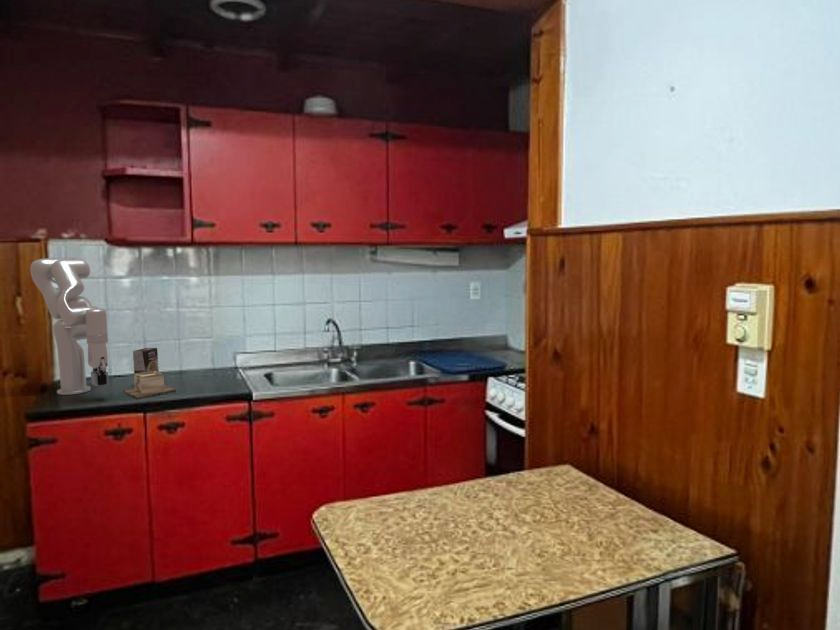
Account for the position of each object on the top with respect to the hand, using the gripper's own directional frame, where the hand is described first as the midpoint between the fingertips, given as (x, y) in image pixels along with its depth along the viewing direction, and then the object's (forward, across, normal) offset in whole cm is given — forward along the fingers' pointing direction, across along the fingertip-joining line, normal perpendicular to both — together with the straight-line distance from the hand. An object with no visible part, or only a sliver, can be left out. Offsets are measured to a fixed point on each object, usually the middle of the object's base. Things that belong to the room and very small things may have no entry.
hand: (100, 382), depth 245 cm
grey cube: (+1, 0, 0) cm, 1 cm away
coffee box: (+7, -13, +23) cm, 28 cm away
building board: (+7, +3, +18) cm, 20 cm away
